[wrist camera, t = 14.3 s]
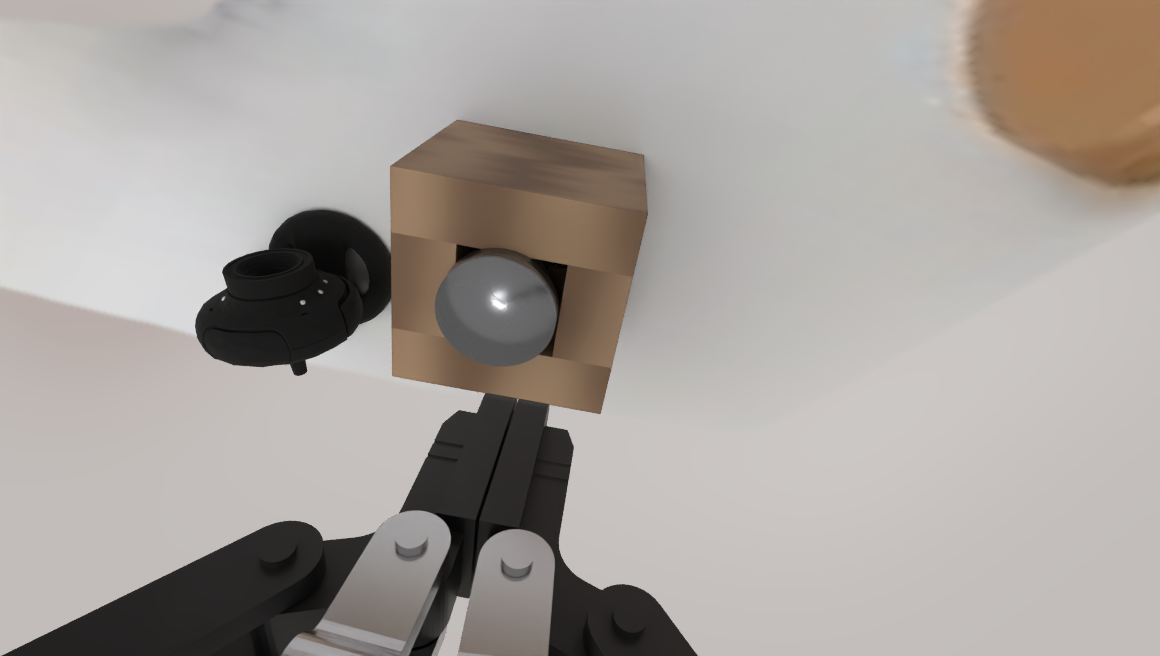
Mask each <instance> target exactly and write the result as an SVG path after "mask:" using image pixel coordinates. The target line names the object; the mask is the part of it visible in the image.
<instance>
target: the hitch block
mask: <svg viewBox="0 0 1160 656" xmlns="http://www.w3.org/2000/svg"><path fill="white" fill-rule="evenodd" d="M390 199H391V302H392V376H394V377H400V378H405V379H411V380H416V381H422V382H427V383H433V384H438V385H444V386H449V387H455V388H460V389H466V390H471V391H476V392H482V393H491V394H497V395H502V396H507V397H513V398H517V399H524V400H530V401H535V402H541V403H546V404H550V405H553V406H559V407H564V408H570V409H575V410H581V411H586V412H592V413H597V414H601V410H602V405H603V401H604V397H605V393H606V389H607V384H608V380H609V376H610V372H611V367H612V363H613V359H614V355H615V350H616V346H617V342H618V338H619V334H620V329H621V325H622V321H623V317H624V312H625V308H626V304H627V300H628V296H629V291H630V287H631V283H632V279H633V274H634V270H635V266H636V262H637V258H638V253H639V249H640V245H641V241H642V236H643V232H644V228H645V224H646V219H647V215H648V211H647V197H646V183H645V169H644V155H640V154H635V153H630V152H625V151H619V150H614V149H609V148H603V147H598V146H593V145H587V144H582V143H577V142H572V141H566V140H561V139H556V138H550V137H545V136H540V135H535V134H529V133H524V132H519V131H513V130H508V129H503V128H497V127H492V126H487V125H482V124H476V123H471V122H466V121H460V120H456V121H455V122H453V123H452V124H450V125H449V126H448V127H446V128H445V129H443V130H442V131H440V132H439V133H437V134H436V135H434V136H433V137H432V138H430V139H429V140H427V141H426V142H424V143H423V144H421V145H420V146H419V147H417V148H416V149H414V150H413V151H411V152H410V153H408V154H407V155H405V156H404V157H403V158H401V159H400V160H398V161H397V162H395V163H394V164H392V165H391V166H390ZM484 248H505V249H510V250H514V251H517V252H519V253H522V254H524V255H526V256H528V257H529V258H533V259H539V260H544V261H549V262H555V263H560V264H566V265H568V267H567V269H566V268H561V267H555V266H550V265H549V268H548V271H547V273H548V275H549V276H550V278H551V279H552V281H553V283H554V285H555V288H556V291H557V294H558V299H559V311H558V317H557V321H556V325H555V329H554V333H553V336H552V338H551V340H550V342H549V344H548V345H547V347H546V348H545V349H544V350H543V351H542V352H541V353H540V354H539V355H538V356H536V357H534V358H533V359H531V360H529V361H527V362H525V363H522V364H519V365H514V366H505V367H503V366H491V365H486V364H482V363H479V362H477V361H474V360H472V359H470V358H468V357H466V356H465V355H463V354H461V353H460V352H459V351H458V350H456V349H455V348H454V347H453V346H452V345H451V344H450V343H449V342H448V340H447V339H446V338H445V336H444V335H443V333H442V332H441V330H440V328H439V325H438V323H437V319H436V315H435V298H436V294H437V291H438V289H439V286H440V284H441V283H442V281H443V280H444V278H445V277H446V275H447V274H448V272H449V271H450V269H451V268H452V267H453V265H454V264H455V263H456V262H457V261H458V260H460V259H461V258H462V257H463V256H465V255H467V254H469V253H471V252H473V251H476V250H480V249H484Z"/></svg>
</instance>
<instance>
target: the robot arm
mask: <svg viewBox="0 0 1160 656" xmlns="http://www.w3.org/2000/svg"><path fill="white" fill-rule="evenodd" d="M549 405H550V404H546V403H541V402H535V401H530V400H524V399H519V400H518V402H517V398H513V397H507V396H502V395H497V394H491V393H486V394H485V395H484V397H483V400H482V402H481V405H480V407H479V409H478V412H477V413H471V412H466V411H460V410H459V411H458V412H456V413H455V414H454V415H452V416H451V417H450V418H449V419H448V420H446V421H445V422H444V423H443V424H442V426H441V428H440V430H439V433H438V434H437V436H436V439H435V442H434V444H433V445H432V447H431V449H430V451H429V453H428V457H427V458H426V459H425V461H424V463H423V465H422V467H421V470H420V472H419V474H418V476H417V478H416V480H415V482H414V484H413V486H412V489H411V490H410V492H409V494H408V496H407V498H406V501H405V503H404V505H403V507H402V509H401V510H400V512H399V514H397V515H394V516H393V517H391V518H389V519H388V520H386V521H385V522H383V523H382V524H381V526H379V528H378V529H377V530H376V532H374V533H372V534H369V535H365V536H361V537H355V538H346V539H336V540H327V541H323V539H322V536H321V534H320V532H319V531H318V530H317V529H316V528H314V527H313V526H312V525H309V524H307V523H304V522H300V521H284V522H278V523H274V524H271V525H269V526H266V527H264V528H261V529H259V530H257V531H256V532H253V533H251V534H249V535H247V536H245V537H243V538H241V539H239V540H237V541H235V542H233V543H231V544H229V545H227V546H225V547H223V548H221V549H219V550H217V551H215V552H212V553H210V554H208V555H206V556H204V557H202V558H200V559H198V560H196V561H194V562H192V563H190V564H188V565H186V566H184V567H182V568H180V569H178V570H176V571H174V572H172V573H170V574H168V575H166V576H163V577H161V578H159V579H157V580H155V581H153V582H151V583H149V584H147V585H145V586H143V587H141V588H139V589H137V590H135V591H133V592H131V593H129V594H127V595H125V596H123V597H121V598H119V599H117V600H115V601H113V602H110V603H109V604H106V605H104V606H102V607H100V608H98V609H96V610H94V611H92V612H90V613H88V614H86V615H84V616H82V617H80V618H78V619H76V620H74V621H72V622H70V623H68V624H66V625H63V626H61V627H59V628H57V629H55V630H53V631H51V632H49V633H47V634H45V635H43V636H41V637H39V638H37V639H35V640H33V641H31V642H29V643H27V644H25V645H23V646H21V647H19V648H17V649H14V650H12V651H10V652H8V653H7V654H4V655H2V656H437V655H438V652H439V650H440V647H441V645H442V642H443V640H444V637H445V633H446V629H447V624H448V622H449V619H450V616H451V613H452V610H453V606H454V603H455V600H456V597H457V596H459V597H464V598H470V600H469V605H468V609H467V614H466V618H465V623H464V628H463V632H462V637H461V642H460V646H459V651H458V655H457V656H697V654H696V653H695V652H694V650H693V649H692V648H691V646H690V645H689V643H688V642H687V641H686V640H685V638H684V637H683V635H682V634H681V633H680V631H679V630H678V629H677V627H676V626H675V625H674V623H673V622H672V620H671V619H670V618H669V616H668V615H667V614H666V612H665V611H664V610H663V608H662V607H661V605H660V604H659V603H658V602H657V601H656V600H655V598H653V597H652V596H651V595H650V594H649V593H647V592H645V591H644V590H642V589H640V588H638V587H634V586H631V585H625V584H622V585H621V584H620V585H613V586H610V587H607V588H605V589H604V590H600V589H598V588H596V587H595V586H593V585H591V584H589V583H587V582H585V581H584V580H582V579H580V578H579V577H577V576H576V575H575V574H574V573H572V571H571V570H570V569H569V568H568V567H567V566H566V564H565V563H564V561H563V559H562V557H561V554H560V551H559V534H560V528H561V522H562V516H563V510H564V504H565V498H566V492H567V486H568V480H569V474H570V467H571V461H572V456H573V449H574V446H573V444H572V441H571V438H570V436H569V433H568V431H567V430H564V429H558V428H553V427H548V426H547V420H548V413H549Z"/></svg>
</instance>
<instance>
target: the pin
mask: <svg viewBox="0 0 1160 656" xmlns="http://www.w3.org/2000/svg"><path fill="white" fill-rule="evenodd" d="M549 265H550V262H549V261H544V260H539V259H533V258H529V257H528V256H526V255H524V254H522V253H519V252H517V251H514V250H510V249H505V248H484V249H480V250H476V251H473V252H471V253H469V254H467V255H465V256H463V257H462V258H461V259H460V260H458V261H457V262H456V263H455V264H454V265H453V267H452V268H451V269H450V271H449V272H448V274H447V275H446V277H445V278H444V280H443V281H442V283H441V284H440V286H439V289H438V291H437V294H436V298H435V315H436V319H437V323H438V325H439V328H440V330H441V332H442V333H443V335H444V336H445V338H446V339H447V340H448V342H449V343H450V344H451V345H452V346H453V347H454V348H455V349H456V350H458V351H459V352H460V353H461V354H463V355H465V356H466V357H468V358H470V359H472V360H474V361H477V362H479V363H482V364H486V365H491V366H503V367H505V366H514V365H519V364H522V363H525V362H527V361H529V360H531V359H533V358H534V357H536V356H538V355H539V354H540V353H541V352H542V351H543V350H544V349H545V348H546V347H547V345H548V344H549V342H550V340H551V338H552V336H553V333H554V329H555V325H556V321H557V317H558V311H559V299H558V294H557V291H556V288H555V285H554V283H553V281H552V279H551V278H550V276H549V275H548V273H547V271H548V268H549Z"/></svg>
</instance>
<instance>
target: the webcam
mask: <svg viewBox="0 0 1160 656" xmlns="http://www.w3.org/2000/svg"><path fill="white" fill-rule="evenodd" d="M347 247H351V248H352V249H354V250H355V251H356V252H357V253H358V254H359V256H360V257H361V258H362V260H363V261H364V263H365V265H366V267H367V270H368V273H369V280H370V282H369V288H368V291H367V293H366V294H365V295H364V297H363V298H361V297H360V295H359V292H358V290H357V289H356V287H355V286H354V285H353V284H352V283H351V282H350V281H349V280H348V274H347V269H346V263H345V252H346V249H347ZM222 273H223V276H224V279H225V282H226V285H227V288H226V289H225V290H223V291H222V292H220V293H218V294H217V295H215V296H213V297H212V298H211V299H210V300H208V301H207V302H206V303H204V304H203V306H202V308H201V309H200V311H199V313H198V315H197V318H196V323H195V328H196V334H197V338H198V340H199V342H200V343H201V345H202V347H203V348H204V350H205V351H206V352H207V353H208V354H210V355H211V356H212V357H213V358H214V359H219V360H221V361H224V362H227V363H229V364H232V365H239V366H240V365H241V366H254V367H266V366H273V365H282V364H290V365H291V368H292V371H293V373H294V375H297V376H300V375H303V374H305V373H306V372H307V367H306V361H305V360H306V359H310V358H313V357H316V356H318V355H320V354H322V353H324V352H326V351H328V350H330V349H332V348H334V347H336V346H338V345H339V344H341V343H342V342H344V341H346V340H347V337H349V336H351V335H352V334H353V333H354V331H355V330H356V328H357V327H358V325H359V324H362V323H364V322H367V321H369V320H371V319H373V318H374V317H376V316H377V315H378V314H379V313H381V312H382V311H383V310H384V308H385V307H386V305H387V304H388V303H389V301H390V299H391V260H390V257H389V255H388V254H387V252H386V250H385V248H384V246H383V245H382V244H381V242H380V241H379V240H378V239H377V237H376V236H374V235H373V234H372V233H371V232H370V231H368V230H367V229H366V228H365V227H363V226H362V225H361V224H359V223H358V222H357V221H355V220H354V219H352V218H349V217H347V216H344V215H342V214H339V213H335V212H331V211H306V212H302V213H299V214H296V215H294V216H292V217H290V218H288V219H287V220H286V221H285V222H284V223H283V224H282V225H281V226H280V227H279V228H278V229H277V230H276V232H275V233H274V235H273V237H272V240H271V242H270V244H269V250H264V251H258V252H254V253H251V254H247V255H244V256H242V257H239V258H237V259H235V260H233V261H231V262H229V263H228V264H227V265H226V266H225V267H224V268H223V271H222Z"/></svg>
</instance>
